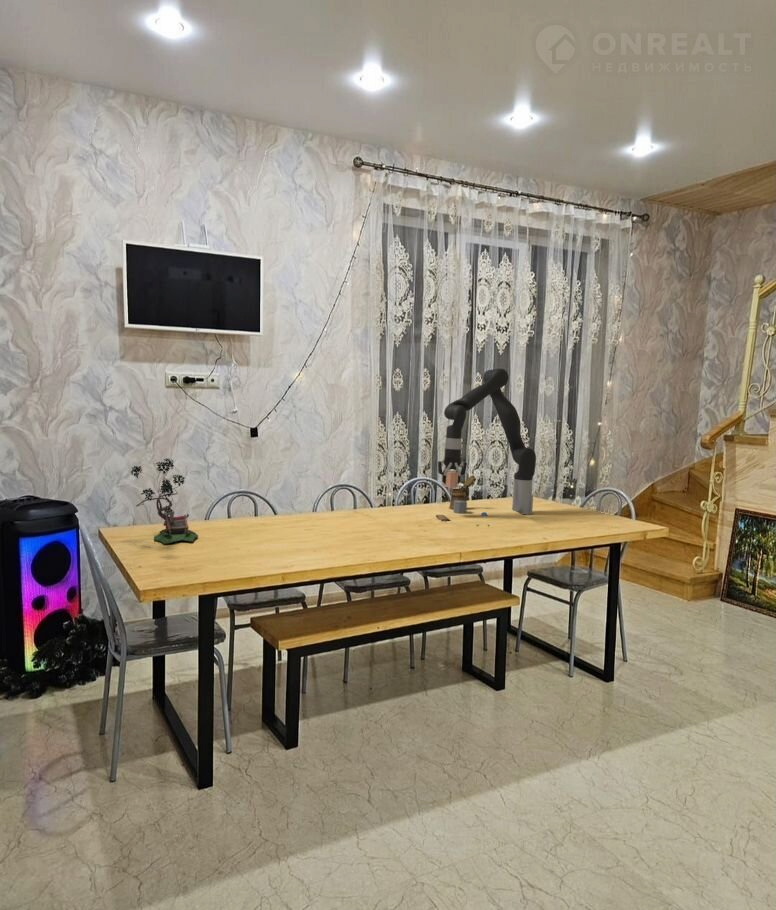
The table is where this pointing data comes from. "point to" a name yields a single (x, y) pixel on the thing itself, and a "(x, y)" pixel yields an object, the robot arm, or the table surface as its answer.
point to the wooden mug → (461, 492)
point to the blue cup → (460, 506)
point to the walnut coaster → (442, 518)
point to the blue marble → (484, 514)
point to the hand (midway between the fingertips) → (450, 483)
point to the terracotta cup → (451, 479)
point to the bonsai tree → (174, 525)
